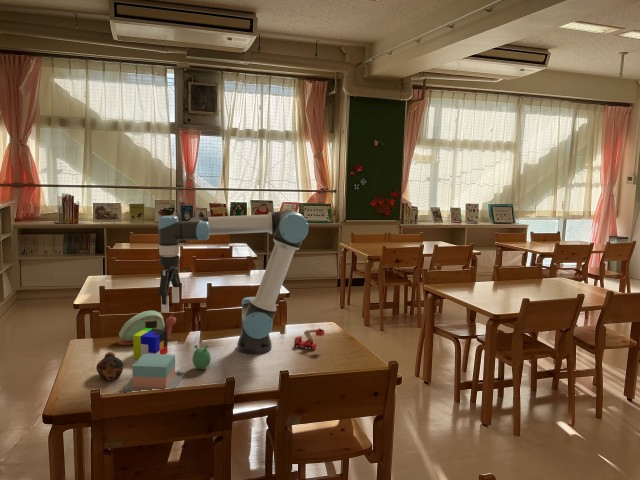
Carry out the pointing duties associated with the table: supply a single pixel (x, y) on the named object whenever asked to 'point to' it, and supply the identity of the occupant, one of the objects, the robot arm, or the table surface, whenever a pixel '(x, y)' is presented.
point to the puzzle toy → (150, 342)
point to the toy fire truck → (309, 342)
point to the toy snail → (145, 325)
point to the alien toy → (201, 357)
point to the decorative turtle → (110, 367)
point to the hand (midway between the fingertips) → (170, 307)
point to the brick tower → (154, 373)
